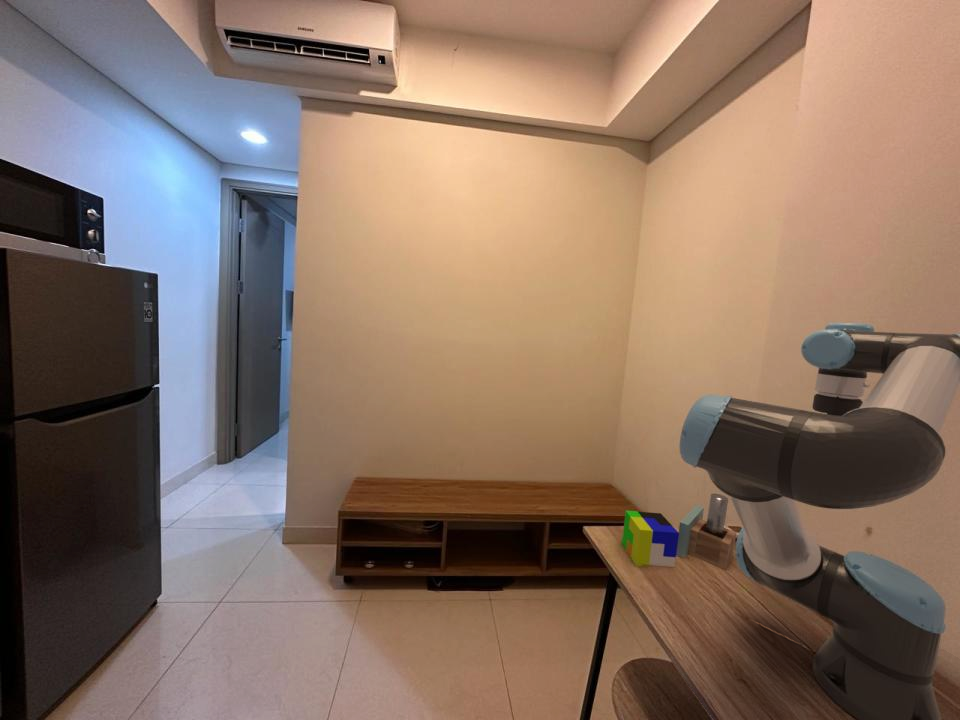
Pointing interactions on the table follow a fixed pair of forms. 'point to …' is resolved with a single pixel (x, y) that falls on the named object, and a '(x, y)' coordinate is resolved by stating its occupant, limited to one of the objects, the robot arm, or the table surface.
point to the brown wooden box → (711, 545)
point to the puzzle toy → (650, 539)
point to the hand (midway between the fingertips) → (822, 490)
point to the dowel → (716, 515)
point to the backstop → (688, 529)
